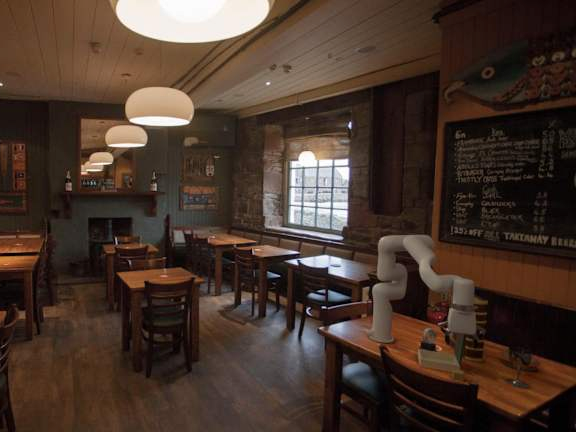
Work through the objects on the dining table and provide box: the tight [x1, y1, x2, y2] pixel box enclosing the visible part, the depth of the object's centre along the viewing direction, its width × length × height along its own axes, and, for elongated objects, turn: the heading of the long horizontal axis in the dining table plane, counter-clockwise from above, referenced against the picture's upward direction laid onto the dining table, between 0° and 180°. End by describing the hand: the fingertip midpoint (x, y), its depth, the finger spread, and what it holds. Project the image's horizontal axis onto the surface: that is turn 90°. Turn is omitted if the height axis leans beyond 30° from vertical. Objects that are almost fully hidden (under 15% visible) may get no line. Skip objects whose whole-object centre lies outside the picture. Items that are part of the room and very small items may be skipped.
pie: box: [498, 350, 542, 372], centre depth 186 cm, size 16×16×5 cm
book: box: [417, 348, 461, 373], centre depth 187 cm, size 16×13×4 cm
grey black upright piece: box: [419, 327, 438, 352], centre depth 204 cm, size 6×8×11 cm
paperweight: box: [451, 369, 465, 382], centre depth 172 cm, size 4×4×4 cm
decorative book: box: [449, 292, 489, 363], centre depth 200 cm, size 22×8×30 cm, turn 168°
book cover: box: [453, 333, 473, 366], centre depth 181 cm, size 16×13×5 cm
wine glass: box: [506, 346, 533, 389], centre depth 168 cm, size 8×8×15 cm
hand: (460, 345), depth 170 cm, fingers open, 9 cm apart
